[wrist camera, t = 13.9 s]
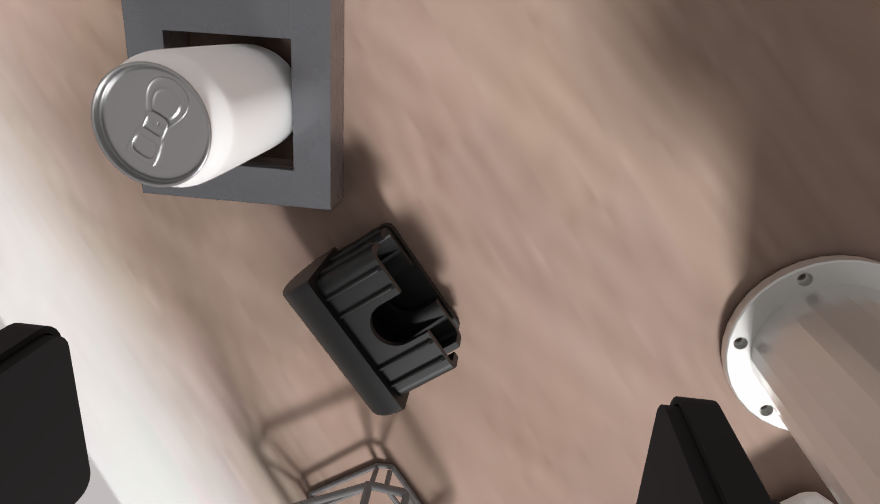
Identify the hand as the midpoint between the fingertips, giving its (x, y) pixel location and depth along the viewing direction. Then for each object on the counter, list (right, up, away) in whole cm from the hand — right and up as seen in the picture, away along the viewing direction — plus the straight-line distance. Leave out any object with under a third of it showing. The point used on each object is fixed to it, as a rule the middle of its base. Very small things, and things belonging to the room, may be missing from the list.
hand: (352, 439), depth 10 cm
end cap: (-2, 0, +33) cm, 33 cm away
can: (-10, +13, +29) cm, 33 cm away
